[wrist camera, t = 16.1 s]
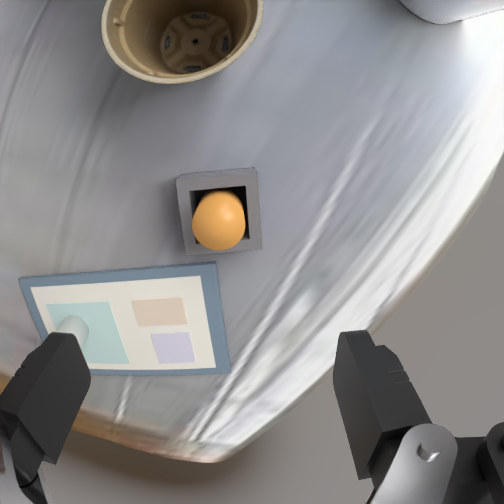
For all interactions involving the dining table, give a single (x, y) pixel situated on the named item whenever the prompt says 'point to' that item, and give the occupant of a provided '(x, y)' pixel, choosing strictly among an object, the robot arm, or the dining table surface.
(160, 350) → the placemat
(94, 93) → the dining table surface
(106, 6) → the flower pot
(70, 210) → the dining table surface
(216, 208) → the button
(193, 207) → the button housing
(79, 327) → the marker
